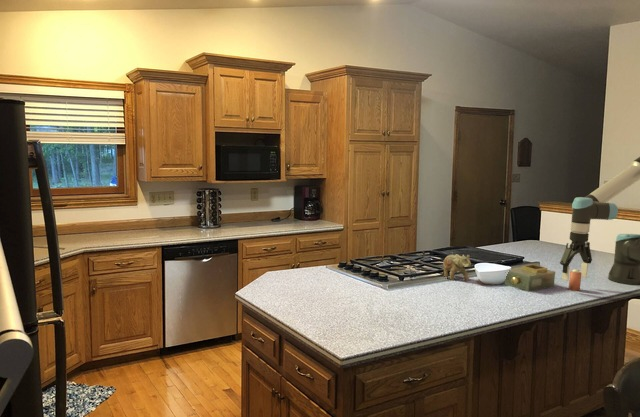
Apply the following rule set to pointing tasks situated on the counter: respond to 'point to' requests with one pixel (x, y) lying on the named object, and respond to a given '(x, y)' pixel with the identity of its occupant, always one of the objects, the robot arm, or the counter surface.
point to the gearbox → (530, 278)
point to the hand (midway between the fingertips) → (574, 278)
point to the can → (575, 280)
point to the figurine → (456, 265)
